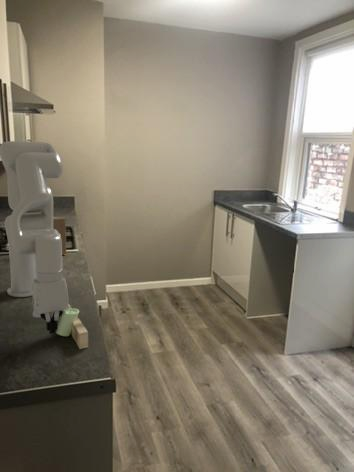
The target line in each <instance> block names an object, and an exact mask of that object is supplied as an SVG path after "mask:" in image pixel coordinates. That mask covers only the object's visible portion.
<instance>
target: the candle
mask: <svg viewBox="0 0 354 472" xmlns="http://www.w3.org/2000/svg"><path fill="white" fill-rule="evenodd" d="M79 314H80V310H79V309H77V308H76V307H75V308H73V307H71V308H69V311H68V312H66V313H65V312H63V314H62V315H61V316H60V317H59V318H58V320H57V329H56V333H55V334H57V335H59V336H62V337H69V336H70V335H71V331H72V322H74V321H76V319H77V316H79Z"/></svg>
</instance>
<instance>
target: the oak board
mask: <svg viewBox="0 0 354 472" xmlns="http://www.w3.org/2000/svg"><path fill="white" fill-rule="evenodd" d="M68 307H69V308H72V306H71V305H70V304H69V306H68ZM78 316H79V315H78ZM78 316H77V319H76V321H74V322H72V331H71V334H70V335H71V336H72V338H73V340H74V341H75V344H76V346H77V347H78V348H79V350H82V349H86V348H89V331H88V330H87V328H86V327H85V326H84V324H83V322H82V321H81V319H80V318H79V317H78Z"/></svg>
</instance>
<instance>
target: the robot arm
mask: <svg viewBox="0 0 354 472" xmlns="http://www.w3.org/2000/svg"><path fill="white" fill-rule="evenodd" d="M0 160H1V162H2V165H3V167H4V170H5V172H6V178H7V198H8V199H7V201H8V202H7V203H8V205H9V208H10V209H11V210H13V211H12V213H11V214H10V215H8V216H7V217H5V220H4V228H5V233H6V238H7V244H8V252H9V253H8V255H9V271H10V285H11V286H10V287H8V288H7V290H6V293H7V295H9V296H11V297H14V298H25V297H27V298H28V297H32V300H31V302H32V309H33V311H32V317H33V318H41V319H43V320H45V321H46V322H45V325H46V326H45V327H46V331H48V332H49V334H51V335H52V334H57V333H56V329H57V323H58V320H59V318H60V316H61V315H62V314H63V312H65V313H66V312H68V311H69V307H68V306H69V305H70V301H69V292H68V291H69V290H68V285H67V281H66V277H65V275H68V273H69V272H68V269H64V267H63V265H64V264H63V263H64V262H63V256H62V239H61V235H60V233H58V231H57V230H55V229H53V217H54V196H53V191H52V190H51V188H50V187H49V186H48V182H47V179H59V178H60V177H61V176H62V175H63V162H62V159H61V156H60V154H59V153H58V152H57V149H55V147H53V144H51V143H49V142H40V141H21V140H20V141H19V140H18V141H17V140H15V141H14V140H11V141H9V140H8V141H5V142H2V143H1V144H0ZM30 211H32V212H30ZM33 211H34V212H33ZM35 211H40V212H35ZM50 313H52V316H50Z"/></svg>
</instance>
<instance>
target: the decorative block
mask: <svg viewBox="0 0 354 472" xmlns="http://www.w3.org/2000/svg"><path fill="white" fill-rule="evenodd" d="M66 221H67V219H66V217H64V216H53V229H55V230H57V231H58V233H60V235H61V239H62V255H63V256H65V255H64V254H66V255H67V227H66V225H67V224H66V223H67V222H66Z"/></svg>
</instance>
